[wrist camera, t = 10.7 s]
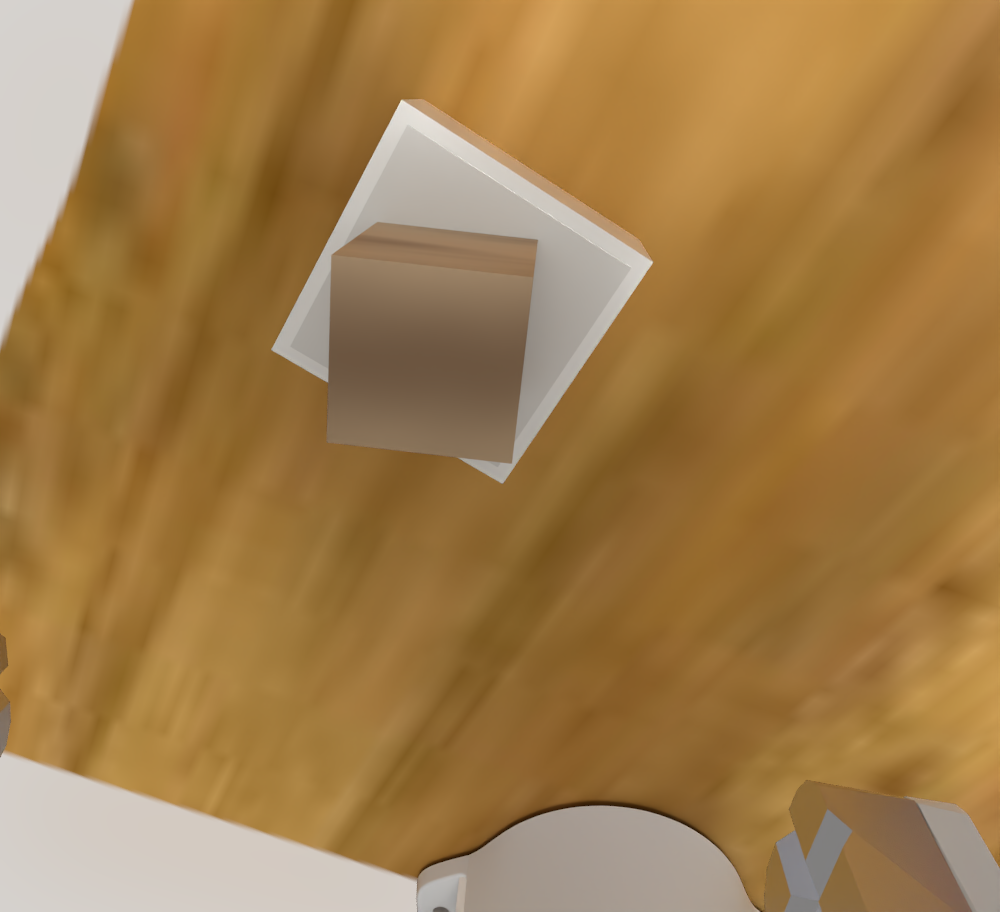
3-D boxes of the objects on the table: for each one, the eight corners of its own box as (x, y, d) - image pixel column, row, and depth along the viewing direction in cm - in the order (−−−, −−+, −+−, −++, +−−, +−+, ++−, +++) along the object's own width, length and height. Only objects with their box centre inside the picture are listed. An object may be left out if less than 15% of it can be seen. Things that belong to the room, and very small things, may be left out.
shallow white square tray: (508, 432, 35) (502, 485, 30) (309, 315, 34) (269, 351, 29) (638, 238, 32) (653, 262, 27) (424, 99, 30) (400, 99, 26)
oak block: (520, 392, 29) (511, 463, 23) (370, 375, 29) (326, 442, 23) (537, 239, 27) (533, 277, 21) (377, 222, 27) (331, 254, 21)
